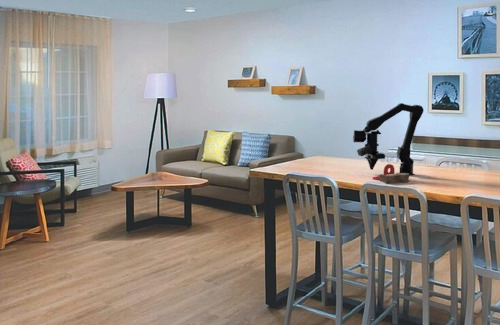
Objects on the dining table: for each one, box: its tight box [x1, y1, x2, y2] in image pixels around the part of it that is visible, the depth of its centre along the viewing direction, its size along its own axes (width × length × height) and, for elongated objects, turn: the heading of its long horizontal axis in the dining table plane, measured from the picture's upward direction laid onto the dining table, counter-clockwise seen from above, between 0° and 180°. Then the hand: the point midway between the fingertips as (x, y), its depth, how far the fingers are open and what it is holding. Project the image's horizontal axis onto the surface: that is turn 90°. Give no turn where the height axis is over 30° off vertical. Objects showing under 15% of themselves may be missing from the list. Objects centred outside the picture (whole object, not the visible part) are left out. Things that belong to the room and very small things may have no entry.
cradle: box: [379, 172, 410, 185], centre depth 255 cm, size 13×8×5 cm, turn 107°
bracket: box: [372, 163, 395, 181], centre depth 265 cm, size 12×4×8 cm, turn 118°
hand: (371, 169), depth 276 cm, fingers closed
